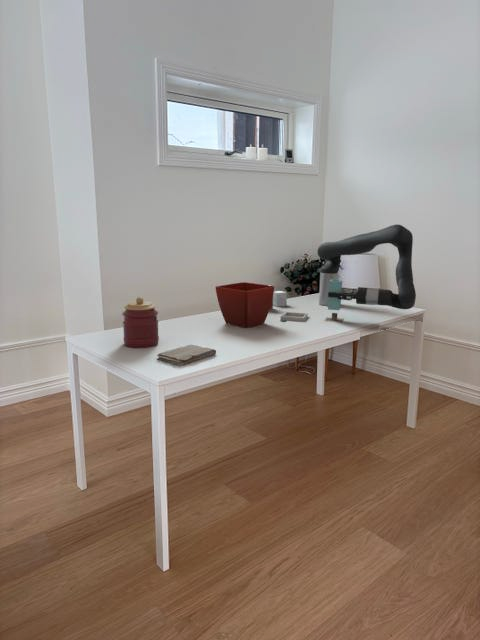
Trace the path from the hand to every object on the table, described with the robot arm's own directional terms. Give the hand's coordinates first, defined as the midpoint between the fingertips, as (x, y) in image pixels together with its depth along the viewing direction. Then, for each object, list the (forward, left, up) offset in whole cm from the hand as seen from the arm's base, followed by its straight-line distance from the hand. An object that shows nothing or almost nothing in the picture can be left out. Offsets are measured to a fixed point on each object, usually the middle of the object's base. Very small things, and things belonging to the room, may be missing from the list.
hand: (329, 293), depth 217 cm
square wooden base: (0, +3, -13) cm, 13 cm away
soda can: (-16, -34, -13) cm, 40 cm away
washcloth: (+74, -37, -13) cm, 84 cm away
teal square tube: (0, +3, -7) cm, 7 cm away
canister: (+64, -60, -13) cm, 89 cm away
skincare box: (-28, -30, -13) cm, 43 cm away
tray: (+3, -15, -13) cm, 20 cm away
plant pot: (+19, -34, -13) cm, 41 cm away
